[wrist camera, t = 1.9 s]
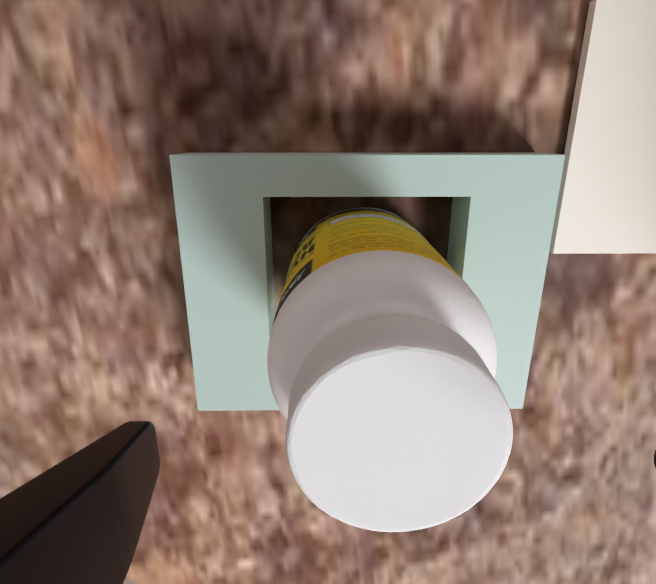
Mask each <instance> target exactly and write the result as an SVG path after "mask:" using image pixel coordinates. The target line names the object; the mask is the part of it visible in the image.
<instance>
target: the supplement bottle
mask: <svg viewBox="0 0 656 584" xmlns="http://www.w3.org/2000/svg"><path fill="white" fill-rule="evenodd" d="M267 366H268V377H269V382H270V387H271V391H272V393H273V396H274V399H275V401H276V403H277V405H278V407H279V409H280V411H281V413H282V414H283V416H284V417H285V419H286V420H287V426H286V441H285V443H286V453H287V458H288V463H289V466H290V469H291V472H292V474H293V476H294V478H295V480H296V482H297V483H298V485H299V487H300V488H301V489H302V491H303V492H304V493H305V494H306V496H307V497H308V498H309V499H310V500H311V501H312V502H313V503H314V504H315V505H316V506H317V507H318V508H320V509H321V510H323V511H324V512H325V513H327V514H328V515H330V516H332V517H334V518H336V519H338V520H340V521H342V522H344V523H347V524H349V525H352V526H355V527H359V528H362V529H367V530H373V531H381V532H406V531H412V530H419V529H424V528H428V527H432V526H436V525H438V524H441V523H444V522H446V521H448V520H450V519H452V518H454V517H456V516H458V515H460V514H462V513H463V512H465V511H467V510H468V509H470V508H471V507H472V506H473V505H475V504H476V503H477V502H478V501H480V500H481V499H482V498H483V497H484V496H485V495H486V494H487V493H488V492H489V491H490V489H491V488H492V487H493V485H494V484H495V483H496V482H497V480H498V479H499V477H500V476H501V474H502V472H503V470H504V468H505V466H506V464H507V461H508V458H509V455H510V452H511V447H512V440H513V425H512V418H511V414H510V409H509V406H508V403H507V400H506V398H505V396H504V394H503V392H502V390H501V389H500V387H499V385H498V383H497V382H496V381H495V375H496V367H497V347H496V339H495V334H494V331H493V328H492V324H491V321H490V319H489V317H488V314H487V312H486V310H485V308H484V307H483V305H482V303H481V302H480V300H479V299H478V298H477V296H476V295H475V294H474V292H473V291H472V289H471V288H470V287H469V285H468V284H467V283H466V282H465V281H464V280H463V279H462V278H461V277H460V276H459V275H458V274H457V273H456V271H455V270H454V269H453V268H452V267H451V266H450V265H449V264H448V263H447V261H446V260H445V259H444V258H443V257H442V256H441V255H440V254H439V253H438V252H437V251H436V250H435V249H434V248H433V247H432V246H431V245H430V243H429V242H428V241H427V240H426V239H425V238H424V237H423V236H422V234H421V233H420V232H419V231H418V230H417V229H416V228H414V227H413V226H412V225H411V224H410V223H408V222H407V221H406V220H404V219H403V218H401V217H399V216H397V215H395V214H393V213H391V212H388V211H385V210H381V209H376V208H368V207H360V208H350V209H345V210H342V211H338V212H336V213H333V214H331V215H329V216H327V217H325V218H323V219H322V220H320V221H319V222H317V223H316V224H315V225H314V226H313V227H311V228H310V230H309V231H308V232H307V233H306V234H305V235H304V236H303V238H302V239H301V241H300V242H299V244H298V246H297V248H296V249H295V252H294V254H293V256H292V259H291V262H290V266H289V270H288V273H287V277H286V280H285V284H284V288H283V291H282V295H281V299H280V302H279V306H278V309H277V312H276V316H275V318H274V321H273V325H272V329H271V335H270V340H269V347H268V354H267Z"/></svg>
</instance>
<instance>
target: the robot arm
mask: <svg viewBox="0 0 656 584" xmlns="http://www.w3.org/2000/svg"><path fill="white" fill-rule="evenodd" d="M654 464H655V468H656V450H655V454H654ZM159 469H160V457H159V451H158V444H157V438H156V431H155V427H154V425H153V423H151V422H150V421H129V422H126V423H124V424H123V425H121V426H119V427H118V428H116V429H114V430H113V431H111V432H109V433H108V434H106V435H105V436H103V437H101V438H100V439H98V440H96V441H95V442H93V443H91V444H90V445H88V446H86V447H85V448H83V449H81V450H80V451H78V452H76V453H75V454H73V455H72V456H70V457H68V458H67V459H65V460H63V461H62V462H60V463H58V464H57V465H55V466H53V467H52V468H50V469H48V470H47V471H45V472H43V473H42V474H40V475H39V476H37V477H35V478H34V479H32V480H30V481H29V482H27V483H25V484H24V485H22V486H20V487H19V488H17V489H15V490H14V491H12V492H10V493H9V494H7V495H5V496H4V497H2V498H1V499H0V584H123V582H124V579H125V577H126V575H127V572H128V570H129V567H130V564H131V562H132V559H133V556H134V553H135V550H136V547H137V544H138V540H139V537H140V534H141V530H142V527H143V524H144V521H145V517H146V514H147V511H148V507H149V504H150V501H151V497H152V494H153V491H154V488H155V484H156V481H157V478H158V474H159Z"/></svg>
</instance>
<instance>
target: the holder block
mask: <svg viewBox="0 0 656 584" xmlns="http://www.w3.org/2000/svg"><path fill="white" fill-rule="evenodd" d="M169 157H170V166H171V175H172V184H173V193H174V201H175V210H176V219H177V228H178V237H179V246H180V255H181V264H182V272H183V281H184V290H185V299H186V308H187V317H188V326H189V335H190V343H191V352H192V361H193V370H194V379H195V388H196V397H197V406H198V411H220V410H280V409H279V407H278V405H277V403H276V401H275V399H274V396H273V393H272V391H271V387H270V382H269V377H268V366H267V354H268V347H269V340H270V335H271V329H272V325H273V321H274V318H275V299H274V275H273V252H272V228H271V204H270V197H452V208H451V219H450V230H449V241H448V252H447V263H448V264H449V265H450V266H451V267H452V268H453V269H454V270H455V271H456V273H457V274H458V275H459V276H460V277H461V278H462V279H463V280H464V281H465V282H466V283H467V284H468V285H469V287H470V288H471V289H472V291H473V292H474V294H475V295H476V296H477V298H478V299H479V300H480V302H481V303H482V305H483V307H484V308H485V310H486V312H487V314H488V317H489V319H490V321H491V324H492V328H493V331H494V334H495V339H496V347H497V367H496V375H495V381H496V382H497V383H498V385H499V387H500V389H501V390H502V392H503V394H504V396H505V398H506V400H507V403H508V406H509V409H520V408H523V403H524V397H525V391H526V385H527V379H528V373H529V367H530V361H531V356H532V350H533V344H534V338H535V332H536V326H537V320H538V314H539V308H540V302H541V296H542V290H543V284H544V278H545V273H546V267H547V261H548V255H549V249H550V243H551V237H552V231H553V225H554V219H555V213H556V207H557V201H558V196H559V190H560V184H561V178H562V172H563V166H564V160H565V155H561V154H548V153H536V152H506V153H181V154H173V155H169Z"/></svg>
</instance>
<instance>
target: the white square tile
mask: <svg viewBox="0 0 656 584" xmlns="http://www.w3.org/2000/svg"><path fill="white" fill-rule="evenodd" d="M564 155H565V160H564V166H563V172H562V178H561V184H560V190H559V196H558V201H557V207H556V213H555V219H554V225H553V231H552V237H551V243H550V249H549V252H551V253H553V254H557V253H656V0H593V1H591V2H590V3H589V9H588V15H587V21H586V27H585V33H584V39H583V45H582V51H581V57H580V63H579V68H578V74H577V80H576V86H575V92H574V98H573V104H572V110H571V116H570V122H569V128H568V134H567V140H566V146H565V152H564Z"/></svg>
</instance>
